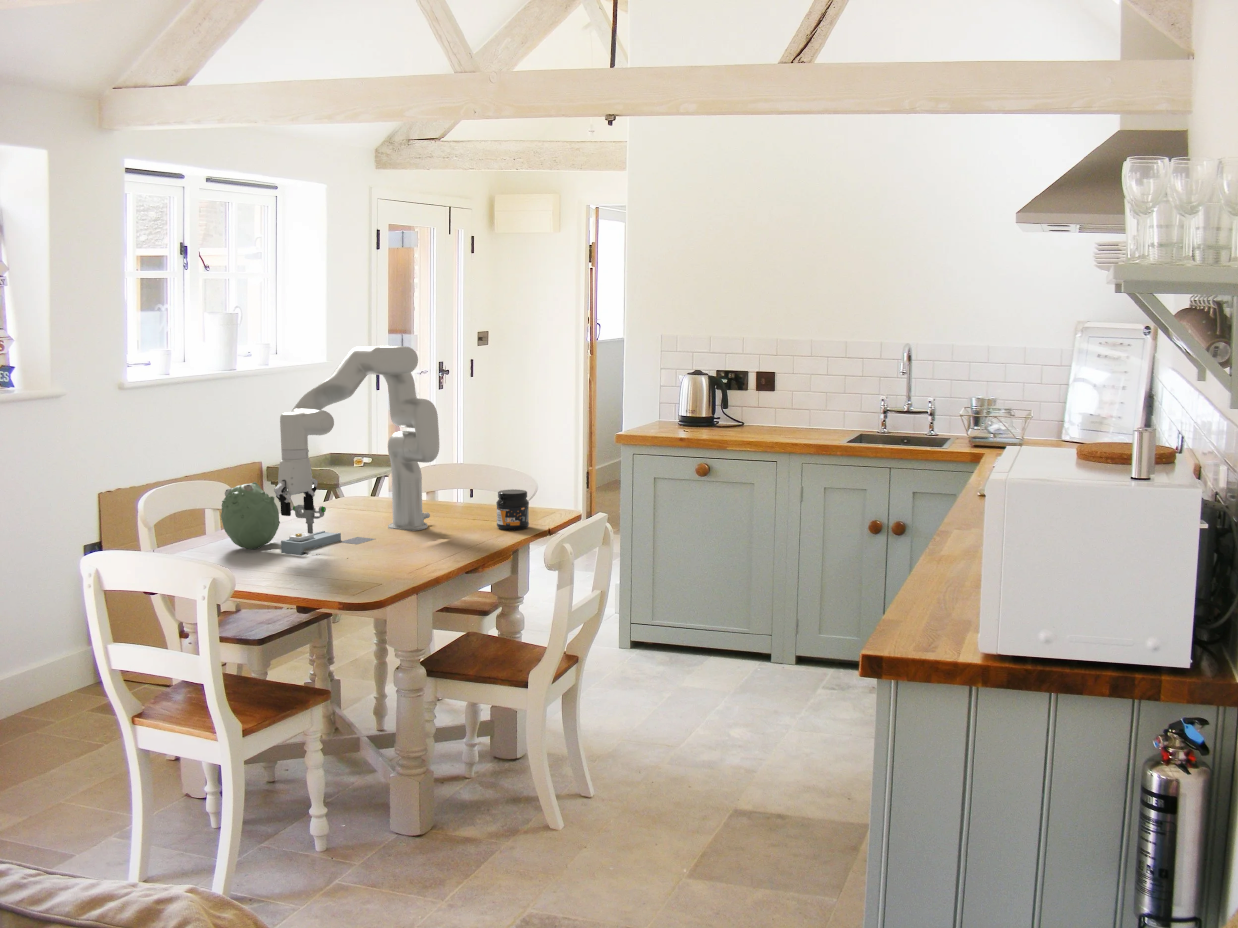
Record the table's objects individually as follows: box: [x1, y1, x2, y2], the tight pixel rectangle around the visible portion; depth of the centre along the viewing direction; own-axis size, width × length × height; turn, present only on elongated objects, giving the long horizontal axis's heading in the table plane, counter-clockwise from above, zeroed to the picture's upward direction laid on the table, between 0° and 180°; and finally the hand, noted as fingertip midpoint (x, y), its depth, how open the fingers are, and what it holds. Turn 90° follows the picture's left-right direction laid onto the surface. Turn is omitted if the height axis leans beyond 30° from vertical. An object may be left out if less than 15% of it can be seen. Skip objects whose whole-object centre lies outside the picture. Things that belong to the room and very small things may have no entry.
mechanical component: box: [292, 504, 327, 534], centre depth 372 cm, size 3×10×10 cm, turn 78°
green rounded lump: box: [220, 481, 281, 550], centre depth 354 cm, size 16×19×20 cm
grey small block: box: [288, 532, 314, 542], centre depth 351 cm, size 6×4×3 cm, turn 153°
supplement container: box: [496, 488, 530, 531], centre depth 388 cm, size 10×10×12 cm
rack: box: [280, 530, 342, 556], centre depth 356 cm, size 18×8×4 cm, turn 153°
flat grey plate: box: [339, 536, 375, 545], centre depth 362 cm, size 9×7×1 cm
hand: (297, 512), depth 349 cm, fingers open, 9 cm apart
